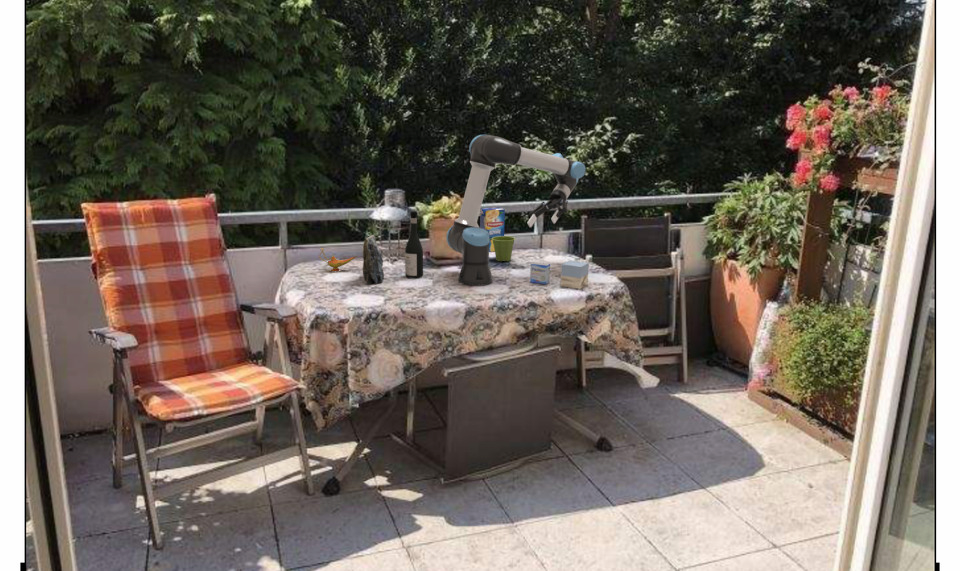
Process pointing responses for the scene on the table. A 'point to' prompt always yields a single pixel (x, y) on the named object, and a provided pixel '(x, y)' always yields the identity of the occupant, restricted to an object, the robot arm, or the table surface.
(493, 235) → the beverage box
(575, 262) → the tower top block
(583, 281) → the tower base block
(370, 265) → the stone block
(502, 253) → the plant pot
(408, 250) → the wine bottle
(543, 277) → the medicine box
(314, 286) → the table surface
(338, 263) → the magic lamp
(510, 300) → the table surface
